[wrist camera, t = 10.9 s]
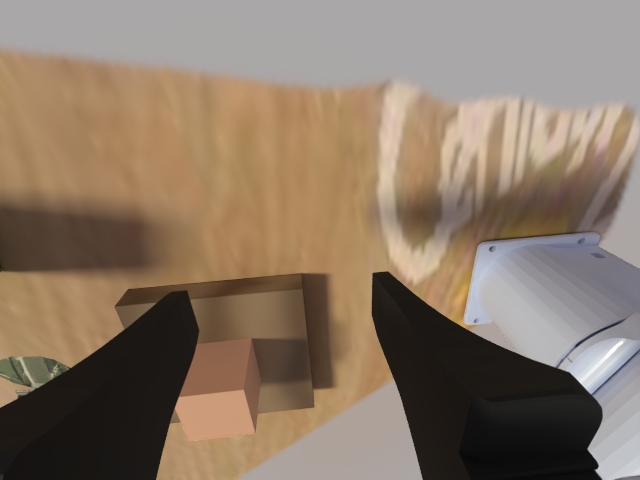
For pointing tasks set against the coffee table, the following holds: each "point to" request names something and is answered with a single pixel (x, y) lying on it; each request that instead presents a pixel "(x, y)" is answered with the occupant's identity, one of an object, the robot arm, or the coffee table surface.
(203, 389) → the terracotta block
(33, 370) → the eiffel tower figurine
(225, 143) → the coffee table surface
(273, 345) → the walnut base
